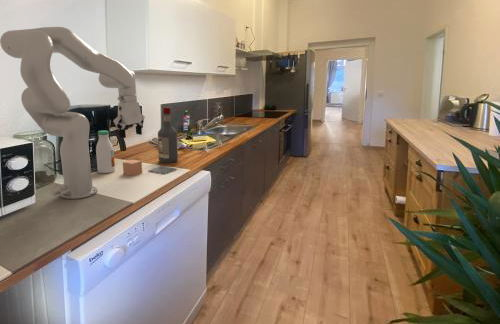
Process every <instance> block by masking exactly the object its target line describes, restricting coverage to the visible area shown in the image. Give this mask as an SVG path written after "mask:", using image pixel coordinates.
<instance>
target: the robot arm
mask: <svg viewBox="0 0 500 324" xmlns="http://www.w3.org/2000/svg"><path fill="white" fill-rule="evenodd" d="M0 47H1V49H2V50H3V51H4V53H5V54H6V55H8V56H9V57H12V58H15V59H21V61H20V68H19V69H20V71H19V72H20V76H21V78H22V81H23V82H24V83H25V85H26V88H25V89H24V90H23V91H22V94H21V96H20V97H21V98H20V99H21V104H22V105H23V106H22V107H23V108H24V110H25V111H26V112H27V113H28V115H29V116H30V117H31V119H32V120H34V122H35V123H36V125H38V127H39V128H40V129H41V130H42V131H43V132H44V133H45V134H47V135H49V136H52V137H61V138H62V141H61V143H60V147H59V151H60V152H59V153H60V160H61V162H60V163H61V169H62V178H63V184H61V187H59V188H58V189H53V190H52V191H51V194H52V196H57V195H60V197H61V198H63V199H67V200H69V199H71V200H75V199H84V198H88V197H91V196H93V195H95V194H97V192H98V187H96V186H94V185H93V177H92V168H91V158H90V157H91V156H90V147H89V146H90V145H89V136H90V128H91V127H90V126H91V125H90V122H89V119H88V117H86V116H85V115H84V114H82V113H79V112H73V111H70V109H71V101H70V99H69V96H68V95H67V93H66V92H65V90H64V89H63V88H62V86H61V84H60V83H59V81H58V80H57V79H56V77H55V76H54V73H53V72H52V69H51V58H52V55H53V53H56V54H57V53H58V54H61V55H63V56H64V57H65V58H67V59H68V60H69V61H71V62H72V63H74V64H75V65H77V66H78V67H79V68H80V69H83V70H85V71H87V72H91V73H95V74H98V81H99V84H100V85H101V86H103V87H104V88H109V89H118V97H117V100H118V106H117V116H116V118H114V119H113V124H114V126H115V127H116V128H117V129H118V131H119V133H118V134H119V138H120V139H121V138H122V139H125V138H127V137H126V129H125V127H126V126H130V125H135V133H136V135H141V136H142V134H143V132H142V131H143V129H142V126H143V124H144V122H145V117H146V116H145V115H143V114H142V111H141V107H140V103H139V101H137V100H138V98H137V97H138V96H137V87H136V86H137V85H136V84H137V83H136V75H135V72H134V71H132V70H129V69H128V68H127V67H126V66H124V65H123V64H122V63H120V62H119V61H118V60H116V59H114V58H112V57H109V56H107V55H105V54H103V53H101V52H98V51H96V50H95V49H93V48H92V47H91V46H90V45H89V44H88V43H86V42H85V41H84V40H83V39H81V38H80V37H79V36H78V35H77V34H76V33H75V32H73V31H71V29H69V28H67V27H63V26H47V27H46V26H43V27H35V28H28V29H25V28H24V29H14V30H13V29H12V30H8V31H7V30H6V31H5V32H4V33H3V34H2V35H1V36H0Z"/></svg>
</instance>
